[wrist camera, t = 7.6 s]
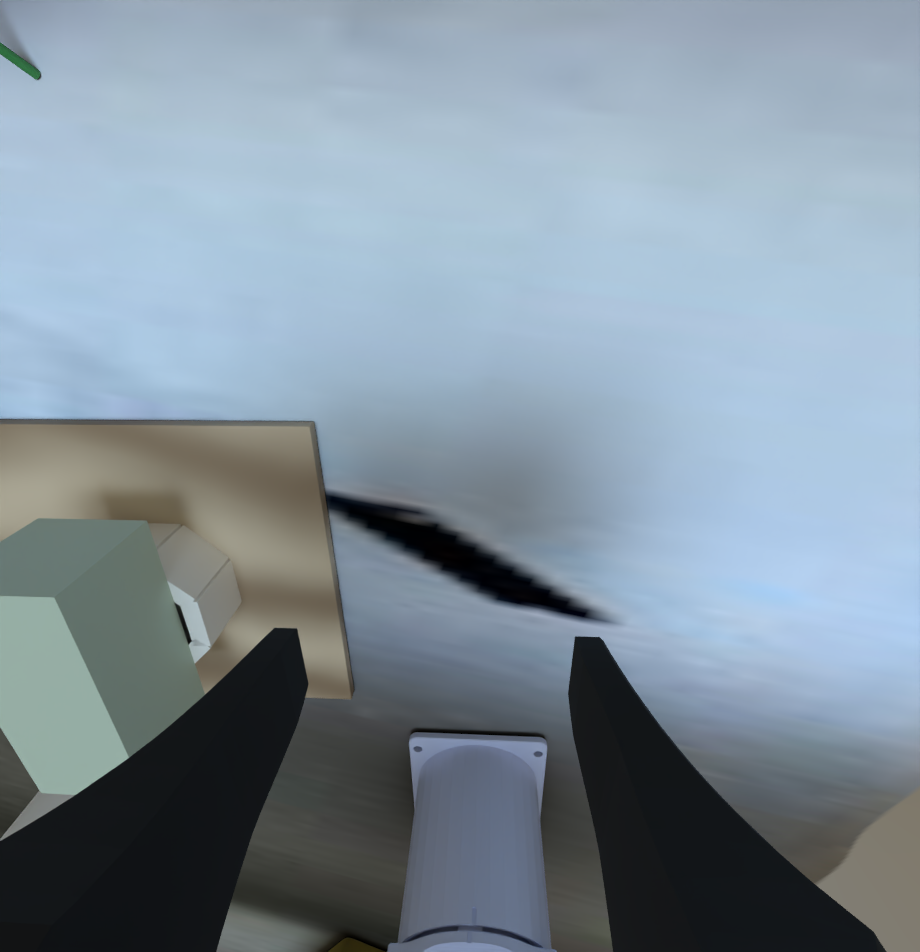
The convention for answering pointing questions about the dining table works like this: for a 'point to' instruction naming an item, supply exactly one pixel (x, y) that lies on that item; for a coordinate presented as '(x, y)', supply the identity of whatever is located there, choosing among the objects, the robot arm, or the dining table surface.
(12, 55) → the lily
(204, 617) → the white octagonal prism
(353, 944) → the flower pot
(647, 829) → the robot arm
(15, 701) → the green rectangular block
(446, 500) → the dining table surface
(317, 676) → the mat
